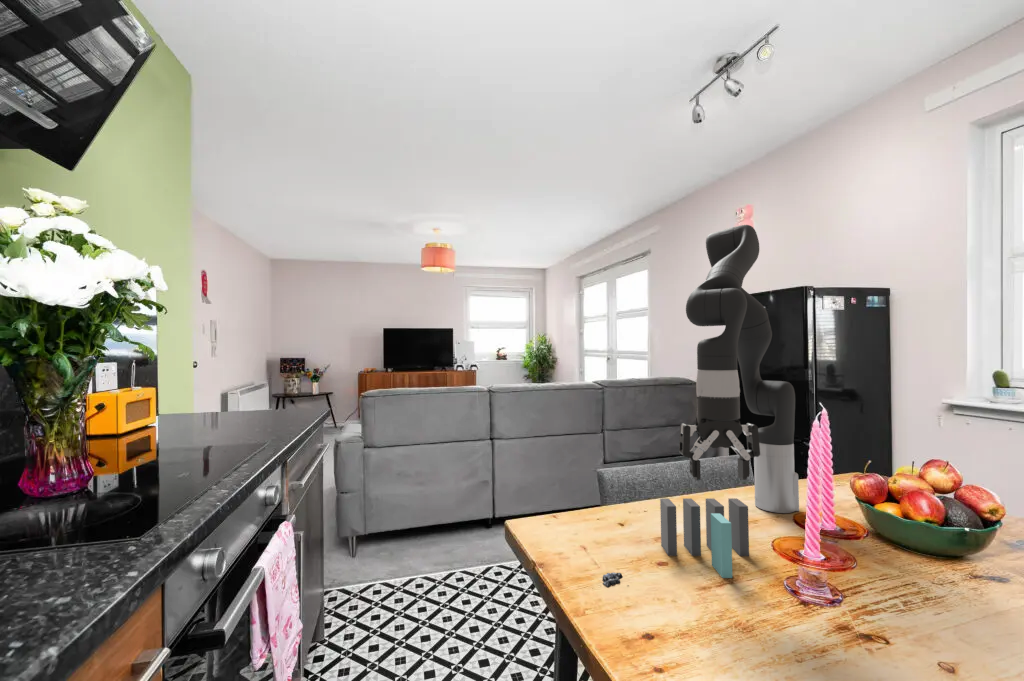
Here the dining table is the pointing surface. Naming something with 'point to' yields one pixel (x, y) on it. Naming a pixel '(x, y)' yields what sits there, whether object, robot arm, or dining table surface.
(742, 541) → the domino
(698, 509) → the domino
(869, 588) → the dining table surface
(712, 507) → the domino
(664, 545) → the domino
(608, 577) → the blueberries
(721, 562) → the end domino
